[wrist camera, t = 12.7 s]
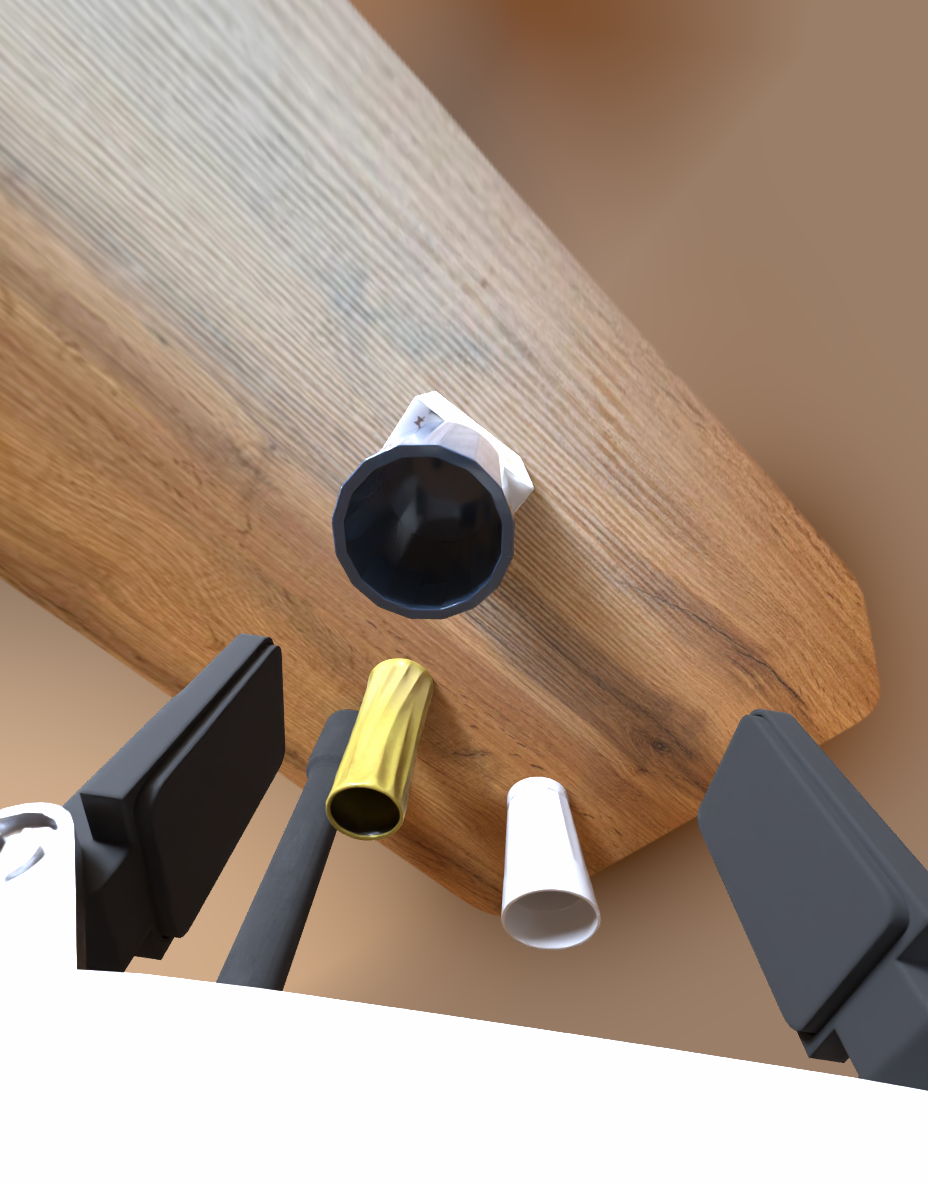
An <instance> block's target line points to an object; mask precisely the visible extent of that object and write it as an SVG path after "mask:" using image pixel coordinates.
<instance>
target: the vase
mask: <svg viewBox="0 0 928 1184" xmlns="http://www.w3.org/2000/svg"><path fill="white" fill-rule="evenodd" d="M433 693H434V686H433V680H432V678H431V676H430V674H429V673H428V671H427V670H426V669H425V668H424V667H422V666H421V665H420V664H418V663H416V662H414V661H411V660H408V659H389V660H386V661H383V662H381V663H380V664H378V665H377V666H376V667H375V668H374V669H373V670H372V672H371V674H370V676H369V679H368V686H367V690H366V693H365V696H364V698H363V701H362V704H361V707H360V710H359V713H358V717H357V720H356V723H355V726H354V728H353V731H352V734H351V737H350V740H349V743H348V745H347V748H346V750H345V753H344V755H343V758H342V761H341V763H340V766H339V769H338V771H337V774H336V777H335V780H334V784H333V787H332V789H331V792H330V794H329V796H328V798H327V801H326V814H327V817H328V819H329V821H330V823H331V824H332V825H333V826H334V827H335V828H336V829H337V830H338V831H340V832H341V833H343V834H345V835H347V836H349V837H351V838H355V839H359V840H379V839H383V838H387V837H389V836H391V835H393V834H394V833H396V832H397V831H398V829H399V828H400V827H401V825H402V823H403V821H404V816H405V813H406V809H407V805H408V800H409V794H410V789H411V784H412V778H413V773H414V767H415V762H416V757H417V751H418V747H419V743H420V739H421V735H422V732H423V728H424V725H425V721H426V717H427V714H428V710H429V706H430V702H431V699H432V696H433Z"/></svg>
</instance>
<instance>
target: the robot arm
mask: <svg viewBox="0 0 928 1184" xmlns="http://www.w3.org/2000/svg"><path fill="white" fill-rule="evenodd" d="M284 754H285V729H284V703H283V677H282V653H281V648H280V647H279V646H275V645H274V643H273V640H272V639H271V638H270V637H264V636H257V635H250V634H239V635H238V636H237V637H236V638H235V639H234V640H233V641H232V642H231V643H230V644H229V645H228V646H227V647H226V648H225V649H224V650H223V651H222V652H221V653H220V654H219V655H218V656H217V657H216V658H215V659H214V660H213V661H211V662H210V663H209V664H208V665H207V666H206V667H205V668H204V669H203V670H202V671H201V672H200V673H199V674H198V675H197V676H196V677H195V678H194V679H193V680H192V681H191V682H190V683H189V684H188V685H187V686H186V687H185V688H184V689H183V690H182V691H181V692H180V693H179V694H177V695H176V696H175V697H173V698H172V699H171V700H170V701H169V702H168V703H167V704H166V705H165V706H164V707H163V708H162V709H161V710H160V711H159V712H158V713H157V714H156V715H155V716H154V717H153V718H151V719H150V721H148V722H147V723H146V724H145V725H144V726H143V727H142V728H141V729H140V730H139V731H138V732H137V733H136V734H135V735H134V736H133V737H132V738H131V739H130V740H129V741H128V742H127V743H126V744H125V745H124V746H123V747H122V748H121V749H120V750H119V751H118V752H117V753H116V754H115V755H114V756H113V757H112V758H111V759H110V760H109V761H108V762H107V763H106V764H105V765H104V766H103V767H102V768H101V769H100V770H99V771H98V772H97V773H96V774H95V775H94V776H93V777H92V778H91V779H90V780H89V781H87V783H86V784H85V785H83V786H82V787H81V789H79V790H78V791H77V792H76V793H75V794H74V795H73V796H72V797H71V798H70V799H69V800H68V801H67V802H66V803H65V804H64V805H63V806H62V807H61V806H58V805H53V804H49V803H27V804H23V805H18V806H14V807H10V808H5V809H3V810H0V1184H928V871H927V870H926V869H925V868H924V867H923V865H922V864H921V863H920V862H919V861H918V860H917V859H916V857H915V856H914V855H913V854H912V853H911V852H910V851H909V849H908V848H907V847H906V846H905V845H904V844H903V842H902V841H901V840H900V839H899V838H898V837H897V835H896V834H895V833H894V832H893V831H892V830H891V829H890V827H889V826H888V825H887V824H886V823H885V822H884V821H883V819H882V818H881V817H880V816H879V815H878V814H877V813H876V811H875V810H874V809H873V808H872V807H871V806H870V805H869V803H868V802H867V801H866V800H865V799H864V798H863V796H862V795H861V794H860V793H859V792H858V791H857V790H856V788H855V787H854V786H853V785H852V784H851V783H850V781H849V780H848V779H847V778H846V777H845V776H844V775H843V773H842V772H841V771H840V770H839V769H838V768H837V767H836V765H835V764H834V763H833V762H832V761H831V760H830V758H829V757H828V756H827V755H826V754H825V753H824V752H823V750H822V749H821V748H820V747H819V746H818V745H817V744H816V742H815V741H814V740H813V739H812V738H811V737H810V735H809V734H808V733H807V732H806V731H805V730H804V729H803V727H802V726H801V725H800V724H799V723H798V722H797V721H796V719H795V718H794V717H793V716H791V715H790V714H787V713H783V712H776V711H769V710H762V709H756V710H754V711H752V712H751V713H750V715H745V716H744V717H742V719H741V720H740V723H739V725H738V727H737V729H736V731H735V733H734V735H733V737H732V739H731V742H730V744H729V746H728V748H727V750H726V752H725V754H724V756H723V758H722V761H721V763H720V765H719V767H718V769H717V771H716V773H715V775H714V777H713V780H712V782H711V784H710V786H709V788H708V790H707V792H706V794H705V796H704V799H703V801H702V803H701V805H700V807H699V810H698V815H697V819H698V826H699V829H700V831H701V833H702V836H703V838H704V840H705V842H706V845H707V847H708V849H709V851H710V854H711V856H712V858H713V860H714V863H715V865H716V867H717V869H718V871H719V874H720V876H721V878H722V881H723V883H724V885H725V887H726V890H727V891H728V894H729V896H730V898H731V901H732V903H733V905H734V908H735V910H736V912H737V914H738V916H739V919H740V921H741V923H742V925H743V928H744V930H745V932H746V934H747V937H748V939H749V941H750V943H751V946H752V947H753V950H754V952H755V955H756V957H757V959H758V961H759V964H760V966H761V968H762V970H763V972H764V975H765V977H766V979H767V981H768V984H769V986H770V988H771V990H772V993H773V995H774V997H775V999H776V1002H777V1004H778V1006H779V1008H780V1011H781V1013H782V1015H783V1017H784V1019H785V1021H786V1022H787V1023H788V1025H789V1026H790V1027H791V1028H792V1029H794V1030H796V1031H797V1032H798V1035H799V1037H800V1039H801V1041H802V1044H803V1046H804V1048H805V1050H806V1052H807V1054H808V1057H809V1058H814V1059H821V1060H828V1061H835V1062H841V1063H844V1062H845V1061H846V1060H847V1059H848V1058H849V1057H850V1059H851V1061H852V1063H853V1065H854V1067H855V1069H856V1071H857V1072H858V1075H859V1077H858V1079H857V1078H851V1077H845V1076H838V1075H831V1074H825V1073H819V1072H813V1071H806V1070H800V1069H793V1068H787V1067H780V1066H775V1065H768V1064H762V1063H755V1062H749V1061H742V1060H736V1059H730V1058H724V1057H717V1056H710V1055H704V1054H698V1053H691V1052H685V1051H679V1050H673V1049H666V1048H659V1047H652V1046H646V1045H639V1044H633V1043H625V1042H619V1041H613V1040H607V1039H599V1038H593V1037H587V1036H580V1035H574V1034H567V1033H560V1032H554V1031H546V1030H540V1029H534V1028H527V1027H520V1026H514V1025H507V1024H500V1023H494V1022H487V1021H480V1020H474V1019H467V1018H460V1017H453V1016H447V1015H440V1014H433V1013H426V1012H419V1011H412V1010H406V1009H399V1008H391V1007H385V1006H378V1005H370V1004H364V1003H357V1002H350V1001H344V1000H337V999H329V998H323V997H315V996H308V995H302V994H295V993H288V992H281V991H275V990H268V989H260V988H252V987H244V986H236V985H228V984H220V983H212V982H204V981H195V980H188V979H179V978H172V977H164V976H156V975H147V974H136V973H124V971H125V970H126V968H127V966H128V965H129V963H130V962H131V960H132V958H133V957H134V956H137V957H145V958H151V959H157V960H161V959H162V958H163V956H164V954H165V952H166V951H167V949H168V947H169V945H170V944H171V942H172V940H173V939H174V937H177V938H181V937H183V936H184V935H185V934H186V933H187V932H188V930H189V928H190V927H191V925H192V923H193V921H194V920H195V918H196V916H197V915H198V913H199V911H200V909H201V907H202V906H203V904H204V902H205V900H206V898H207V897H208V895H209V893H210V891H211V890H212V888H213V886H214V884H215V883H216V881H217V879H218V877H219V875H220V874H221V872H222V870H223V868H224V866H225V865H226V863H227V861H228V859H229V857H230V855H231V854H232V852H233V850H234V849H235V847H236V845H237V843H238V841H239V840H240V838H241V836H242V834H243V832H244V831H245V829H246V827H247V825H248V824H249V822H250V820H251V818H252V816H253V814H254V813H255V811H256V809H257V807H258V805H259V804H260V802H261V800H262V798H263V797H264V795H265V793H266V791H267V790H268V788H269V786H270V784H271V782H272V781H273V779H274V777H275V775H276V773H277V772H278V770H279V768H280V766H281V764H282V761H283V758H284Z"/></svg>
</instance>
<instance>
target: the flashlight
mask: <svg viewBox="0 0 928 1184" xmlns="http://www.w3.org/2000/svg"><path fill="white" fill-rule="evenodd" d="M358 713H359V711H355V710H340V711H337V712H335V713H334V714H332V715H331V716H330V717H329V718H328V720H327V722H326V724H325V726H324V728H323V730H322V732H321V735H320V737H319V739H318V741H317V743H316V745H315V747H314V750H313V752H312V754H311V756H310V759H309V762H308V765H307V769H306V774H307V778H308V780H307V783H306V785H305V787H304V789H303V792H302V794H301V796H300V798H299V800H298V803H297V805H296V807H295V809H294V811H293V814H292V816H291V818H290V820H289V823H288V825H287V827H286V829H285V831H284V834H283V836H282V838H281V840H280V842H279V845H278V847H277V849H276V851H275V854H274V856H273V858H272V860H271V862H270V864H269V867H268V869H267V871H266V873H265V875H264V878H263V880H262V882H261V884H260V886H259V889H258V891H257V893H256V895H255V897H254V900H253V902H252V904H251V906H250V908H249V911H248V913H247V915H246V917H245V920H244V922H243V924H242V926H241V929H240V931H239V933H238V935H237V937H236V939H235V942H234V944H233V946H232V948H231V951H230V953H229V955H228V957H227V959H226V961H225V964H224V966H223V968H222V970H221V973H220V975H219V977H218V979H217V982H216V983H220V984H228V985H236V986H244V987H252V988H260V989H268V990H275V991H281V992H282V991H283V988H284V985H285V982H286V979H287V976H288V973H289V970H290V967H291V964H292V961H293V958H294V955H295V952H296V949H297V946H298V944H299V940H300V938H301V935H302V932H303V929H304V926H305V923H306V920H307V917H308V914H309V911H310V908H311V905H312V902H313V899H314V896H315V893H316V890H317V888H318V884H319V882H320V879H321V876H322V873H323V870H324V867H325V864H326V861H327V858H328V855H329V852H330V849H331V846H332V843H333V840H334V837H335V834H336V831H337V829H336V828H335V827H334V826H333V825H332V824H331V823H330V821H329V819H328V817H327V814H326V801H327V798H328V796H329V794H330V792H331V789H332V787H333V784H334V780H335V777H336V774H337V771H338V769H339V766H340V763H341V761H342V758H343V755H344V753H345V750H346V748H347V745H348V743H349V740H350V737H351V734H352V731H353V728H354V726H355V723H356V720H357V717H358Z"/></svg>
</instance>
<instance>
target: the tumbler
mask: <svg viewBox="0 0 928 1184" xmlns="http://www.w3.org/2000/svg"><path fill="white" fill-rule="evenodd" d="M332 529H333V537H334V545H335V553H336V556H337V558H338V560H339V561H340V563H341V565H342V567H343V569H344V570H345V572H346V574H347V576H348V578H349V579H350V581H351V583H352V584H353V586H355V587H356V588H357V589H358V590H359V591H360V592H362V593H363V594H364V595H365V596H366V597H367V598H369V599H370V600H371V601H372V602H373V603H375V604H376V605H377V606H379V607H380V608H383V609H386V610H388V611H391V612H394V613H396V614H399V615H401V616H404V617H407V618H410V619H445V618H448V617H451V616H454V615H457V614H459V613H462V612H465V611H468V610H471V609H473V608H475V607H476V606H477V605H478V604H480V603H481V602H482V601H483V600H484V599H485V598H486V597H488V596H489V595H490V594H491V593H492V592H493V591H494V590H496V589H497V588H498V586H499V585H500V583H501V581H502V579H503V577H504V575H505V573H506V571H507V569H508V567H509V565H510V563H511V561H512V558H513V555H514V530H515V521H514V515H513V509H512V503H511V497H510V490H509V484H508V478H507V474H506V472H505V469H504V466H503V463H502V460H501V458H500V456H499V453H498V452H497V451H496V449H495V448H494V447H493V445H492V444H491V443H490V442H489V441H488V440H487V439H486V438H485V437H484V436H483V435H481V434H480V433H479V432H477V431H476V430H474V429H472V428H470V427H468V426H465V425H462V424H459V423H455V422H446V421H440V422H429V423H426V424H424V425H421V426H419V427H417V428H415V429H413V430H410V431H408V432H406V433H404V434H403V435H401V436H400V437H398V438H397V439H395V440H394V441H392V442H391V443H389V444H388V445H386V446H385V447H383V448H382V449H380V450H379V451H377V452H376V453H374V454H373V455H371V456H370V457H368V458H367V459H365V460H364V461H363V462H362V463H361V464H360V466H359V467H358V468H357V469H356V470H355V471H354V472H353V474H352V475H351V476H350V477H349V478H348V479H347V480H346V482H345V483H344V484H343V485H342V487H341V489H340V492H339V496H338V499H337V502H336V506H335V509H334V513H333V516H332Z"/></svg>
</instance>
